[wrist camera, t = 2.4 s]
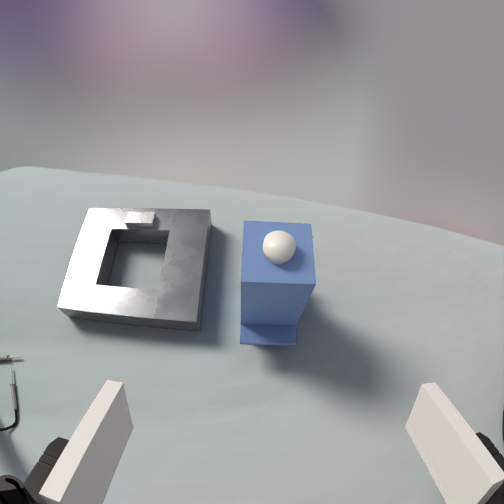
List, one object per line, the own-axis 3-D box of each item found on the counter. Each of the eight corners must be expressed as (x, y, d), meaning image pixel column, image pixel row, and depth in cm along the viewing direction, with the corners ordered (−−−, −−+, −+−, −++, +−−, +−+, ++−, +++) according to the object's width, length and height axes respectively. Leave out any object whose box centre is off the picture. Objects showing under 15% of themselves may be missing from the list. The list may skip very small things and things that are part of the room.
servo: (289, 278, 32) (310, 198, 21) (290, 353, 27) (320, 302, 17) (243, 276, 31) (245, 195, 21) (240, 352, 27) (239, 300, 17)
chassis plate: (211, 224, 35) (209, 204, 32) (199, 330, 28) (195, 318, 26) (96, 221, 34) (87, 203, 32) (68, 316, 28) (53, 303, 25)
